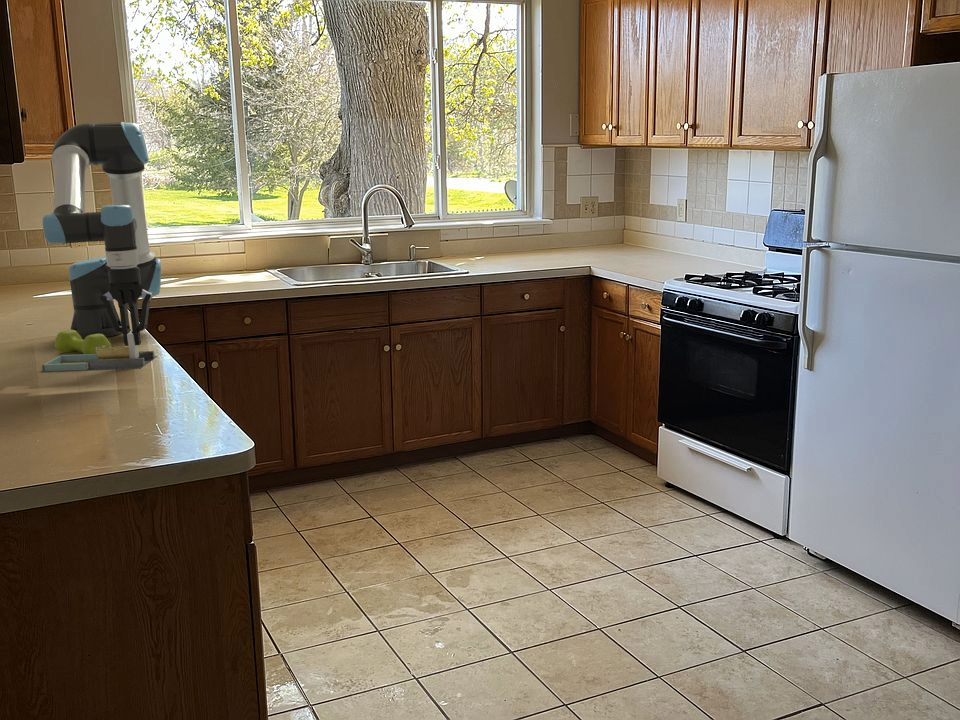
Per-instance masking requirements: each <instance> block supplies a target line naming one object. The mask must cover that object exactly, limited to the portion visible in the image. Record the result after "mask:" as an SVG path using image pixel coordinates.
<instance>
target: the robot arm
mask: <svg viewBox="0 0 960 720" xmlns="http://www.w3.org/2000/svg"><path fill="white" fill-rule="evenodd" d="M145 140H146V139H145V137H144V133H143V130H142V128H141V126H140V125H139V124H138V123H136V122H124V121H120V122H116V121H115V122H99V123H97V122H96V123H94V122H92V123H89V122H86V123H80V124H76V125H74V126H72V127H70V128H68V129H67V130H66V131H65V132H63V133H62V134H61V135H60V136H59V137H58V138H57V140H56V142H55V144H53V148H52V152H51V162H52V165H53V166H54V186H53V188H54V189H53V205H52V207H53V208H52V212H51V213H50V214H49V213H48V214H45V215H44V216H43V217H42V229H43V230H42V232H43V235H44V239H45V241H46V243H49V244H62V245H66V244H77V243H78V244H79V243H91V242H94V243H95V242H104V249H105V256H103V257H94V258H90V259H84V260H79V261H77V262H74V263H71V265H70V266H69V268H68V274H69V275H68V277H69V279H68V281H69V284H70V285H69V286H70V290H71V291H70V293H71V297H72V307H73V316H72V320H71V325H70V329H69V330H75V331H76V332H77V333H78V334H79V335H80V336H81V338H82V339H83V340H84V339H85V338H86V337H87V336H89V335H93V334H103V335H104V336H105V337H106V338H109V337H114V336H117V335H120V334H122V335H123V343H124V345H125V346H128V347H129V354H130V358H138V357H139V346H140V345H141V344H142V339H141V332H142V331H144V330H146V329H147V327H148V322H149V321H148V320H149V315H150V314H149V313H150V305H151V301H152V299H153V297H156V296H158V295H160V292H161V287H162V286H161V282H162V260H161V259H160V258H158V257H156V252H154V251H153V250H152V249H150V244H149V235H148V227H147V220H146V219H147V218H146V214H145V213H146V212H145V204H144V198H143V197H144V196H143V195H144V194H143V187H142V181H141V179H142V178H141V174H142V173H143V172H144V171H145V169H146V168H145V165H147V163H149V160H150V157H149V154H148V149H147V144H146V141H145ZM89 166H101V169H102V172H103V173H105V174H106V176H108V178H109V184H110V194H111V201H112V204H109V205H103V206H102V207H101V208H100V211H95V212H94V211H92V212H91V211H90V212H86V210H85V208H86V206H85V205H86V204H85V202H86V201H85V200H86V170H88V169H89ZM140 298H141V299H142V302H141V310H140V311H141V312H140V317H139V308H138V304H139V303H138V300H139V299H140ZM114 300H115V301H116V302H117V306H118V310H119V313H118V311H117V309H116V306H115V302H114ZM128 308H129V309H128ZM130 322H131V325H130Z"/></svg>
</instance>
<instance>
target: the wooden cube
mask: <svg viewBox="0 0 960 720" xmlns="http://www.w3.org/2000/svg"><path fill="white" fill-rule="evenodd" d="M115 347H116V348H115V349H113V350H112V351H113V358H114V359H124V358H130V354H129V347H128V346H121V345H120V346H115Z"/></svg>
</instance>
